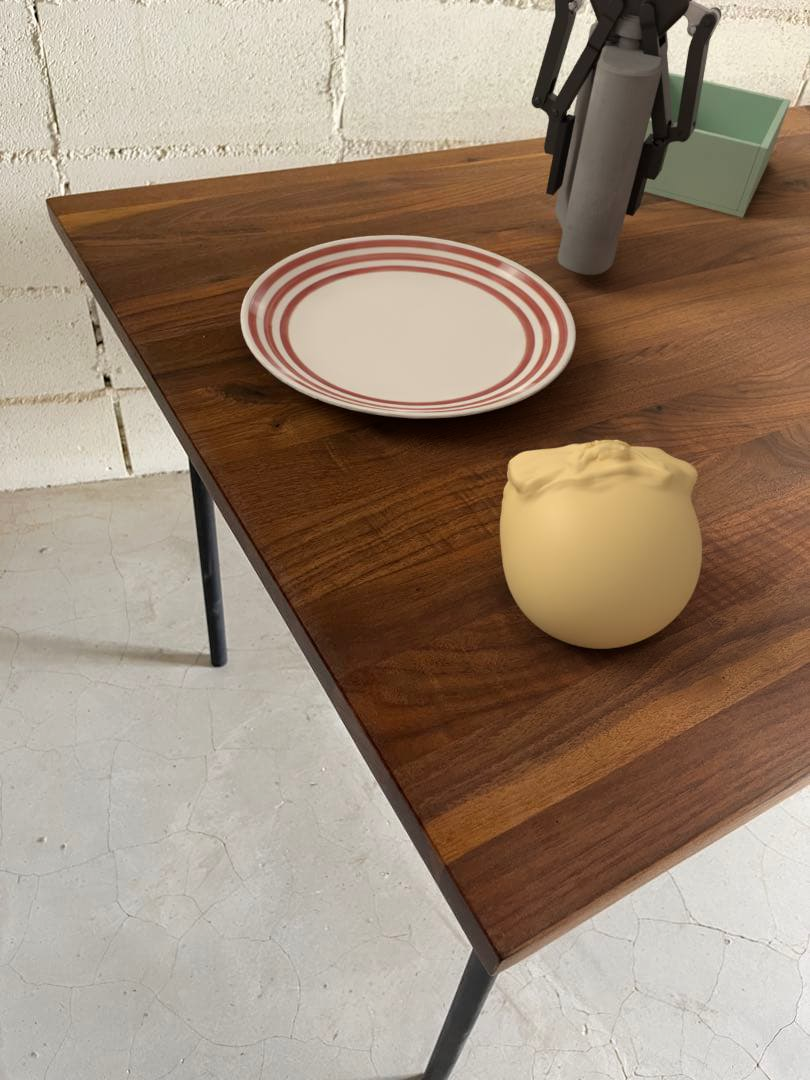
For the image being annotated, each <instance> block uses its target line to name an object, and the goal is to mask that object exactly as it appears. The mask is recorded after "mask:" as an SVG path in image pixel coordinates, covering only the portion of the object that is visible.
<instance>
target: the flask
mask: <svg viewBox="0 0 810 1080" xmlns="http://www.w3.org/2000/svg"><path fill="white" fill-rule="evenodd" d="M597 24H598V21H596V22H594V23H592V24H591V26H590V28H589V33H588V38H587V41H588V40H589V38H590V36H591V35H592V33H593V31H594V29H595V28H596V26H597ZM615 33H616V34H618V35H620V36H621V38H620V39H619V43H615V42H610V41H608V40H607V41H606V42H605V43H604V45H603V46H602V48H601V51H600V53H599V55H598V58H597V60H596V62H595V64H594V67H593V69H592V70H591V72H590V74H589V76H588V77H587V79H586V81H585V82H584V84H583V86H582V87H581V89H580V91H579V93H578V94H577V96H576V98H575V99H576V100H575V105H574V109H573V115H574V116H576V117H575V123H574V128H573V133H572V138H571V143H570V148H569V153H568V158H567V163H566V168H565V173H564V178H563V183H562V186H561V187H560V188H559V189H558V191H557V196H556V197H557V198H556V201H555V206H554V215H555V218H557V221H558V222H559V225H560V229H561V232H562V234H561V239H560V245H559V249H558V254H557V261H558V263H559V265H560V266H561V267H562V268H564V269H565V270H566V271H568V272H571V273H574V274H576V275H582V276H596V275H600V274H603V273H605V272H606V271H608V270H609V269H610V268H611V267H612V266H613V263H614V261H615V257H616V253H617V249H618V245H619V242H620V238H621V233H622V231H623V226H624V221H625V218H626V215H627V214H626V210H627V206H628V202H629V198H630V194H631V190H632V187H633V183H634V179H635V175H636V171H637V167H638V163H639V159H640V155H641V151H642V147H643V143H644V139H645V135H646V131H647V127H648V124H649V120H650V116H651V112H652V108H653V104H654V100H655V96H656V92H657V88H658V84H659V80H660V76H661V72H662V68H663V64H664V57H663V55H660V56H659V57H657V56H652V55H647V54H644V53H643V48H639V44H640V42H638V39H639V40H642V32H641V27H640V20H639V16H635V15H630V14H628V15H627V16H622V17H621V18H618V23H617V27H616V32H615Z"/></svg>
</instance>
